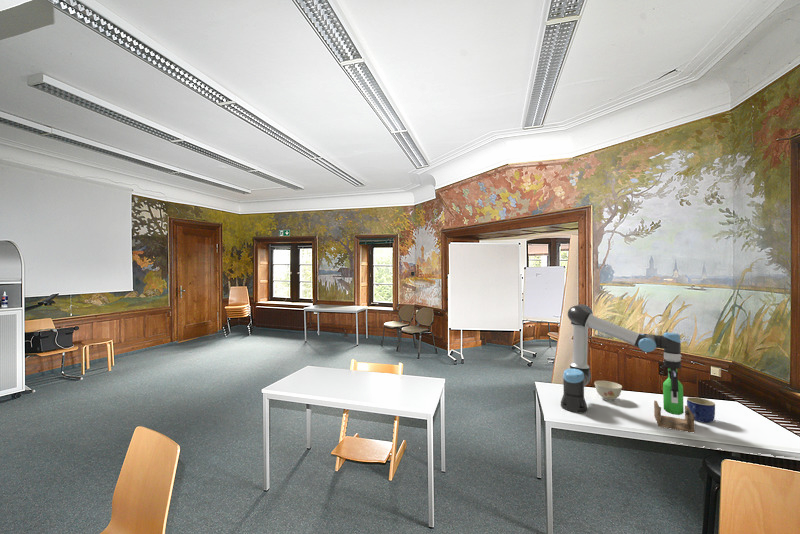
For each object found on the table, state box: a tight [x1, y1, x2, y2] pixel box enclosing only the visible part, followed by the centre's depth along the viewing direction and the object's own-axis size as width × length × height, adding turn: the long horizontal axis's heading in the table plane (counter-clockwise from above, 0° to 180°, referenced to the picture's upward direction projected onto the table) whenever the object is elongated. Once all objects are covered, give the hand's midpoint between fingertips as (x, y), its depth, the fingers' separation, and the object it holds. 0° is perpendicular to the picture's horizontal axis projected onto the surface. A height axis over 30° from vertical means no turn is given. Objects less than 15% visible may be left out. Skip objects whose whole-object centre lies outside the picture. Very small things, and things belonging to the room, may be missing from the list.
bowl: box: [594, 380, 623, 402], centre depth 226 cm, size 16×16×10 cm
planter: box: [686, 396, 716, 424], centre depth 195 cm, size 12×12×11 cm
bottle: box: [662, 367, 685, 416], centre depth 189 cm, size 9×9×25 cm
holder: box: [653, 400, 695, 433], centre depth 189 cm, size 15×16×9 cm
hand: (673, 400), depth 189 cm, fingers closed on bottle, 9 cm apart
